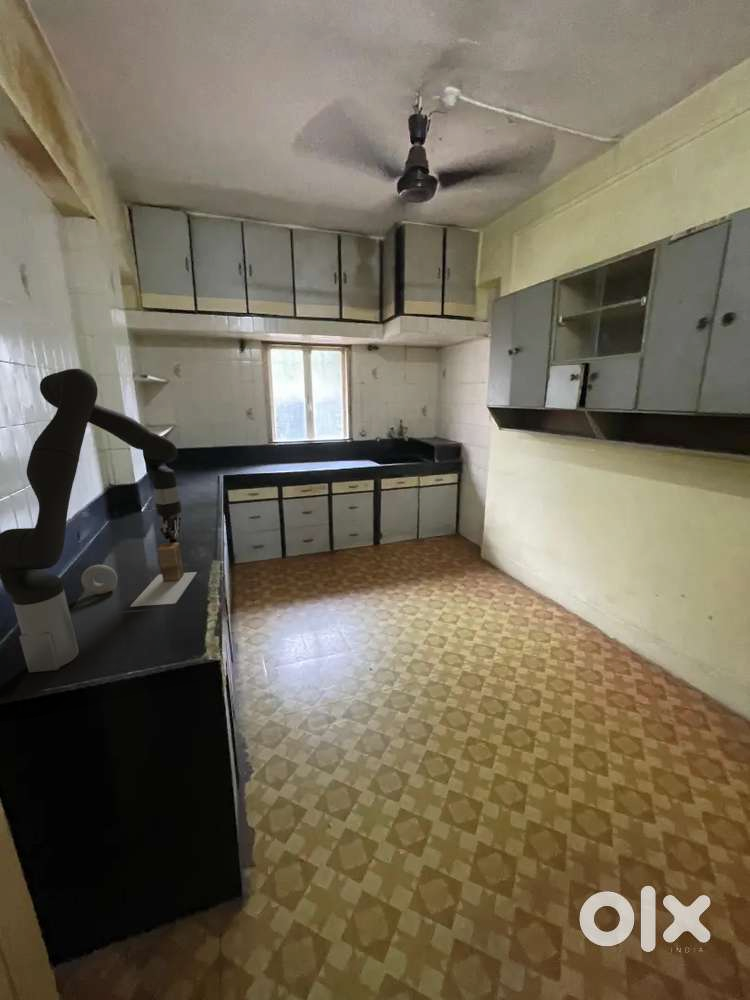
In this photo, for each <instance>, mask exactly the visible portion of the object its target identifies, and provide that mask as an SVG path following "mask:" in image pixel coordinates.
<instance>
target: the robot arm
mask: <svg viewBox="0 0 750 1000" xmlns="http://www.w3.org/2000/svg"><path fill="white" fill-rule="evenodd" d="M39 391H40V393H41V396H42V397H43V399H44V400H45V401H46V402H47V403H49V405H52V406H53V407H54V408H56V409H57V410H56V412H55V414H54V416H53V417H52V419H51V420H50V421H49V423H48V424H47V425H46V427H45V428H44V429H43V430H42V432H41V433H40V434H39V435H38V437H37V438H36V440H35V441H34V444H33V445H32V449H30V450H31V451H30V454H29V457H28V462H27V466H26V477H27V480H28V483H29V484H30V487H31V489H32V490H33V492H34V495H35V497H36V499H37V503H38V515H37V520H36V524H35V525H34V527H27V528H25V527H22V528H9V529H5V530H3V531H2V532H0V581H1V584H2V587H3V589H4V591H5V592H6V593H7V595H9V596H10V597H11V599H12V603H13V607H14V612H15V614H16V619H17V622H18V626H19V629H20V633H21V635H20V636H19V641H20V645H21V648H22V649H21V650H22V653H23V656H24V660H25V664H26V667H27V670H28V673H38V672H49V671H51V670H52V671H57V670H59V669H60V668H62V667H63V666H65V665H66V664H69V663H70V662H72V661H73V660H74V659H76V658H77V656H78V655H79V652H80V651H79V647H78V641H77V638H76V634H75V630H74V626H73V625H74V624H73V622H72V617H71V613H70V609H69V604H68V600H67V595H66V592H65V588H64V584H63V581H62V579H61V577H59V576H57V575H54V574H51V573H49V572H46V571H44V570H46V569H51V568H52V567H55V565H57V563H58V562H59V561H60V559H61V557H62V555H63V551H64V547H65V540H66V539H65V538H66V530H67V520H68V511H69V505H70V499H71V495H72V491H73V485H74V481H75V478H76V475H77V470H78V465H79V461H80V456H81V451H82V450H81V449H82V446H83V442H84V439H85V434H86V430H87V427H88V424H91V425H93V426H96V427H98V428H100V429H102V430H104V431H106V432H108V433H109V434H111V435H113V436H115V437H116V438H118V439H119V440H121V441H123V442H124V443H126V444H127V445H129V446H130V447H132V448H133V449H137V450H141V451H142V456H143V460H144V462H145V465H146V467H147V469H148V471H149V473H150V475H151V479H152V488H153V498H154V499H153V500H154V504H155V505H154V506H155V511H156V515H157V516H159V517H162V526H163V527H160V533H161V534H162V535H163V536H164V539H166V540H169V543H179V539H178V537H179V534H180V533H181V532H180V531H181V523H182V522H181V521H182V517H179V516H178V515H179V514H180V513H181V512H182V506H181V497H180V493H179V492H180V491H179V488H178V484H177V483H178V482H177V477H176V472H175V470H174V469H171V468H170V467H168V466H167V464H166V463H171V462H174V461H175V460H176V458H177V457H178V449H177V447H176V445H175V444H174V443H173V442H172V441H170V440H169V439H168V438H165V437H164V436H161V435H160V434H157V433H155V432H153V431H151V430H150V429H148V428H146V427H145V426H143V424H142V423H139V421H136V420H135V419H133V418H132V417H130V416H128V415H126V414H123V413H121V412H117V411H114V410H112V409H109V408H107V407H104V406H102V405H100V404H97V403H96V401H97V399H98V392H99V391H98V386H97V382H96V380H95V378H94V376H93V375H92V374H91V373H90V372H88V371H87V370H85V369H82V368H68V369H64V370H62V371H58V372H54V373H51V374H48V375H46V376H44V377H43V378H42V379H41V380H40V383H39ZM52 671H51V672H52Z"/></svg>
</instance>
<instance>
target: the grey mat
mask: <svg viewBox="0 0 750 1000" xmlns="http://www.w3.org/2000/svg"><path fill="white" fill-rule="evenodd" d="M197 573H198V572H197V571H193V572H192V571H191V572H184V575H183V577H182V578H181V579H180V581H173V582H163V576H162V573H160V574H157V576H155V578H154V579H153V580H152V581H151V582H150V583H149V585H148V586H147V587H146V588H145V589H144V590H143V591H142V593H141V594H139V595H138V597H137V598H136V599H135V600H134V601H133V602H132V603H131V605H129V607H131V608H132V607H142V606H157V605H158V606H159V605H173V604H174V605H175V604H177V602H178V600H179V599H180V597H181V596H182V595H183V593H184V592H185V591H186V589H187V587H188V586H189V584H190V583H191V582H192V581H193V579H194V578H195V576H196V574H197Z"/></svg>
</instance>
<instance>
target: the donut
mask: <svg viewBox="0 0 750 1000" xmlns="http://www.w3.org/2000/svg"><path fill="white" fill-rule="evenodd" d="M96 576H97V577H98V576H101V577H103V578H104V579H105V580H104V582H103V583H100V582H99V583H98V582H97V581H95V577H96ZM118 578H119V577H118V574H117V572H116V571H115V570H114V569H113V568H112V567H110V566H109V565H105V564H95V565H91V566H89V567H88V568H86V569H85V570H84V571H83V572H82V575H81V577H80V579H81V580H80V583H81V584H82V587H83V588H84V589H85V590H86V591H87V592H89V593H91V594H95V595H103V594H108V593H109V592H111V591H113V590H114V588H115V587H117V584H118V582H119V581H118V580H119V579H118Z"/></svg>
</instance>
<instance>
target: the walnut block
mask: <svg viewBox="0 0 750 1000" xmlns="http://www.w3.org/2000/svg"><path fill="white" fill-rule="evenodd" d="M180 546H181V545H180V542H178V543H170V542H164V543H162V544H161V545H160V546H159V547H158V548H157V550H158V558H159V564H160V569H161V574H162V576H163V582H173V581H180V579H181V578H182V577H183V575H184V573H185V572H184V566H183V560H182V552H181V547H180Z"/></svg>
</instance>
